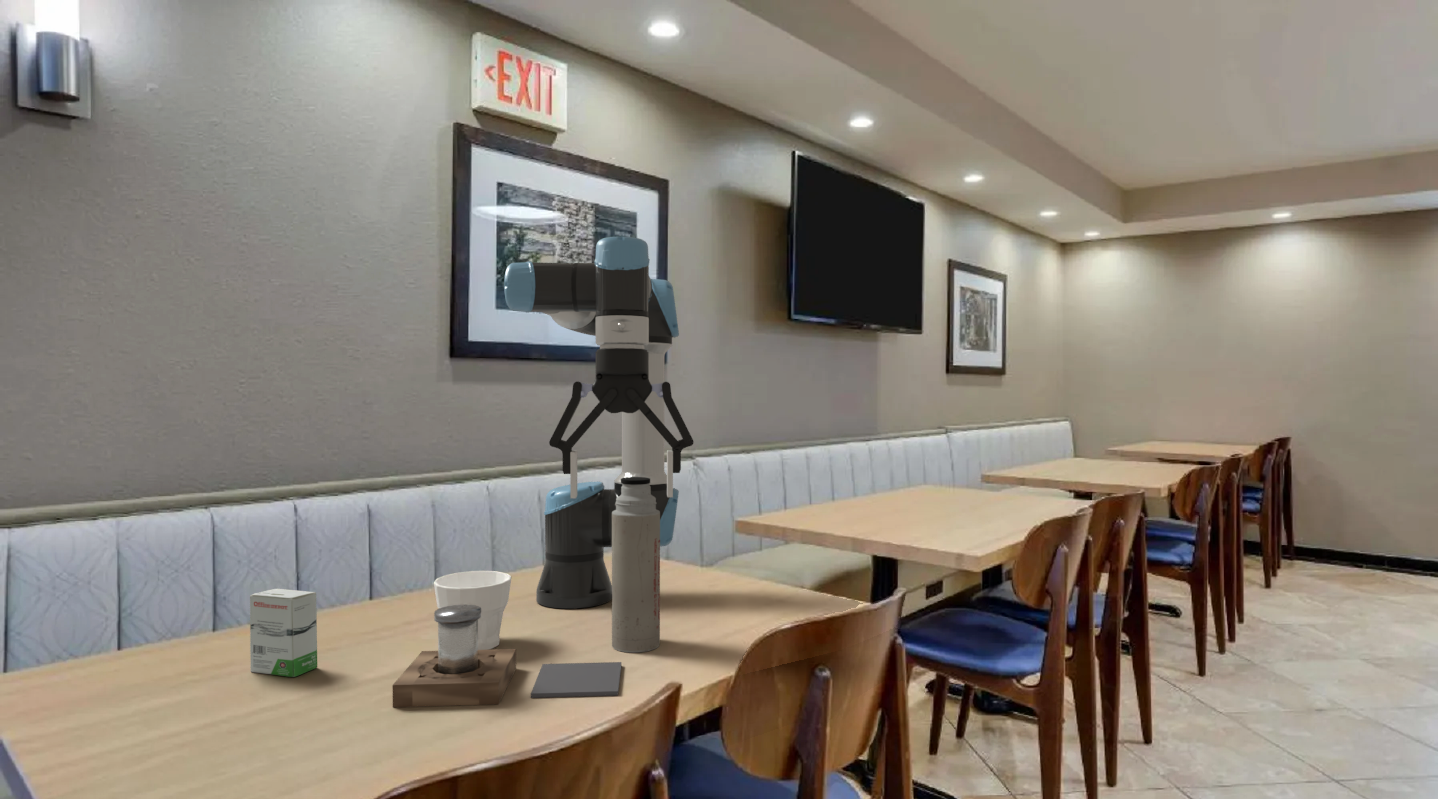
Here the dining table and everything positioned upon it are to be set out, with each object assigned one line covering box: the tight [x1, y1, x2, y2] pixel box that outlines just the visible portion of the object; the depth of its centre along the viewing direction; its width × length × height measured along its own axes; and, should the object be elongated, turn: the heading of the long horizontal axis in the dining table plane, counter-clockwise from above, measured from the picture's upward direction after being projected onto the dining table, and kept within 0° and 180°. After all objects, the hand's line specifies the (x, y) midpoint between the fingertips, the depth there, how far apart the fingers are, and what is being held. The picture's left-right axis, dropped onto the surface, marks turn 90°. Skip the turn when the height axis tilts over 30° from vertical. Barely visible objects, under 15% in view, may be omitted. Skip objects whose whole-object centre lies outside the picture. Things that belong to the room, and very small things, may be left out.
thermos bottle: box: [611, 477, 661, 653], centre depth 136 cm, size 8×8×28 cm
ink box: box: [249, 587, 318, 678], centre depth 124 cm, size 9×5×12 cm, turn 71°
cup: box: [433, 570, 512, 650], centre depth 136 cm, size 12×12×11 cm
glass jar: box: [433, 605, 481, 674], centre depth 117 cm, size 6×6×11 cm
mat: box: [530, 661, 622, 699], centre depth 120 cm, size 12×12×1 cm
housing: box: [392, 648, 517, 708], centre depth 117 cm, size 14×14×3 cm
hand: (622, 496), depth 117 cm, fingers open, 13 cm apart
